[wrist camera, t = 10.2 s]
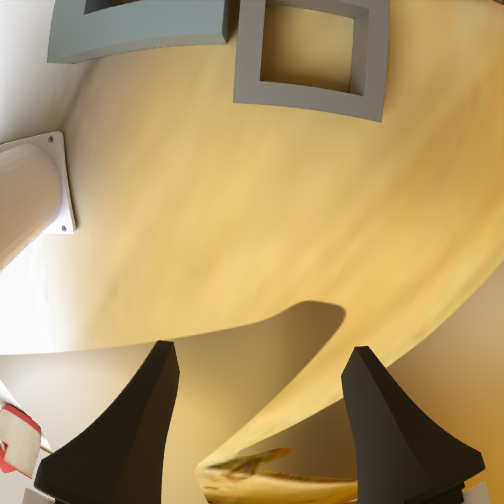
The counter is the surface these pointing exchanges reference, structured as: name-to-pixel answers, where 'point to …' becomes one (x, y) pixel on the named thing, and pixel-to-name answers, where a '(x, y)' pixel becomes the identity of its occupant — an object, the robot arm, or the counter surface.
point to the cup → (500, 1)
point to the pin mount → (298, 96)
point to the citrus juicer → (18, 441)
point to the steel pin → (129, 1)
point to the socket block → (132, 27)
